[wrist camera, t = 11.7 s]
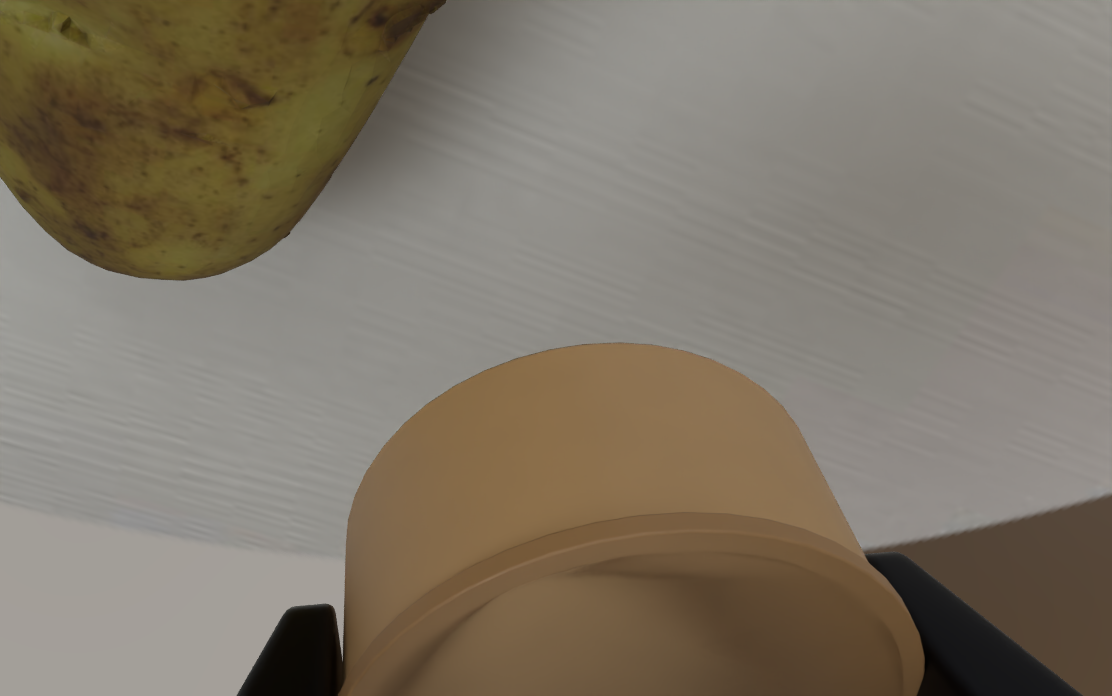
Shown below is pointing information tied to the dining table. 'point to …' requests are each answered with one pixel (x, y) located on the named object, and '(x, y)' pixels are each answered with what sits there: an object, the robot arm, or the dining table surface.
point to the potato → (187, 119)
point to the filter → (612, 543)
